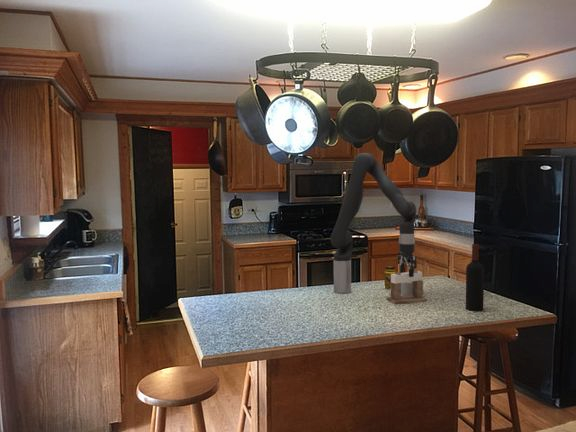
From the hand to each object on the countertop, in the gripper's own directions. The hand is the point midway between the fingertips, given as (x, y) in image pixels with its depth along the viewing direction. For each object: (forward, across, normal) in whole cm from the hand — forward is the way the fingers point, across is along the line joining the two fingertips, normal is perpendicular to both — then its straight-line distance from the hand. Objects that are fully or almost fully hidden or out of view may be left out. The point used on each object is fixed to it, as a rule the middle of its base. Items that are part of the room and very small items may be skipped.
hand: (406, 275), depth 237 cm
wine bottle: (+13, -24, -21) cm, 34 cm away
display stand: (+13, 0, 0) cm, 13 cm away
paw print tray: (+13, +13, -8) cm, 20 cm away
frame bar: (+3, 0, 0) cm, 3 cm away
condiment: (+13, +26, -4) cm, 29 cm away
